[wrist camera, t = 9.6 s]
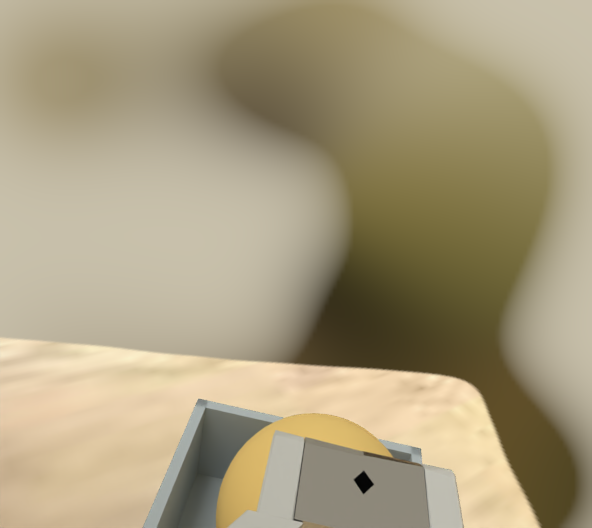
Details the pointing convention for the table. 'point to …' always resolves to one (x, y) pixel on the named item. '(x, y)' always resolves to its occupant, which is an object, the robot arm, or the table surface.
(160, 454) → the table surface
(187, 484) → the tray
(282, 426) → the ball
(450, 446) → the table surface
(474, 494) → the table surface
